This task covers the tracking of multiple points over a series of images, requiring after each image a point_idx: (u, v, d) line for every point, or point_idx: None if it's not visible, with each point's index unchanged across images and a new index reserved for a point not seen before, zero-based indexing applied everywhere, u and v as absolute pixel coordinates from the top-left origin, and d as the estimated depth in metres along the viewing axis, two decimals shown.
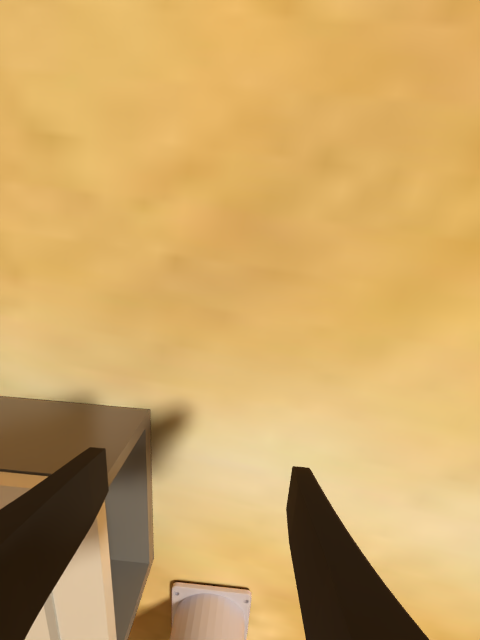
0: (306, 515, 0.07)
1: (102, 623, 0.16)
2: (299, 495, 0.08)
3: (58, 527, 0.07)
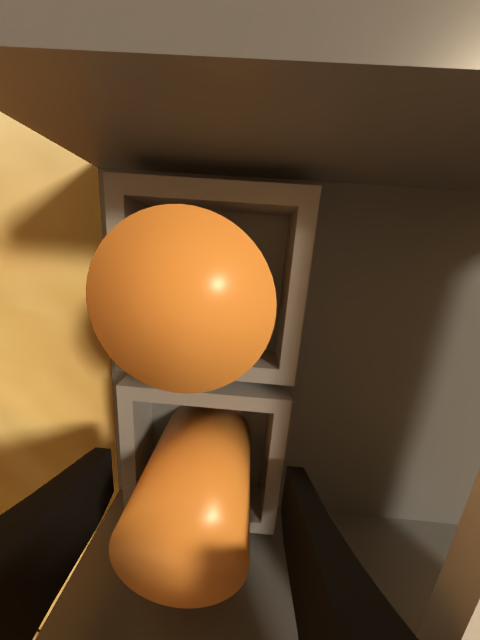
0: (299, 514, 0.07)
1: None
2: (293, 494, 0.08)
3: (64, 528, 0.07)
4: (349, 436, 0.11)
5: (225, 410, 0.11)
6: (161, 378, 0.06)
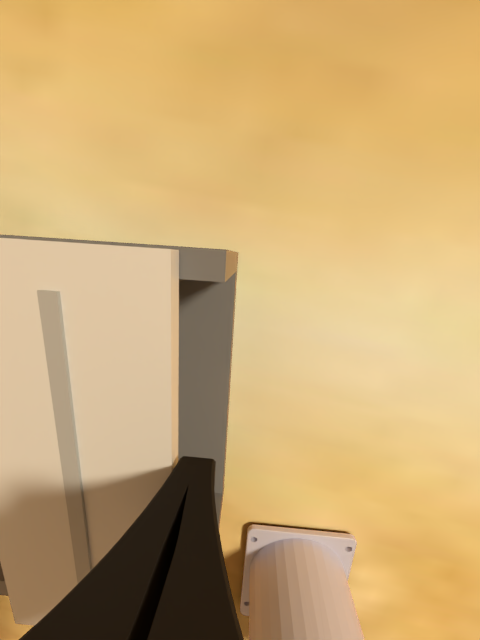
0: None
1: None
2: None
3: (177, 540, 0.07)
4: None
5: None
6: None
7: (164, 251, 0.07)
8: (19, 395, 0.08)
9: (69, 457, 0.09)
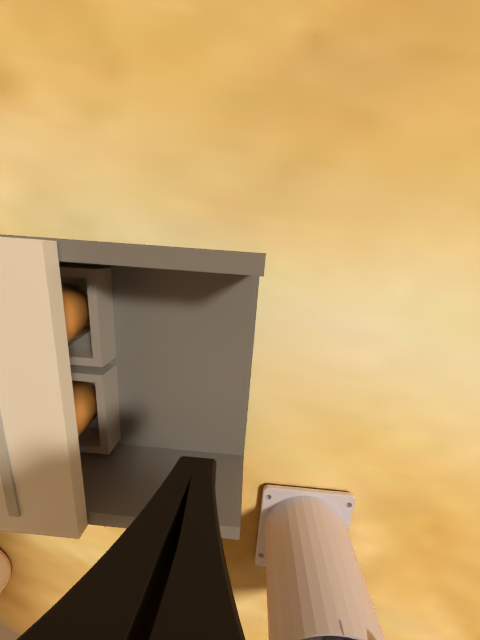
0: None
1: (62, 447, 0.13)
2: None
3: (176, 540, 0.07)
4: (159, 399, 0.19)
5: (81, 383, 0.19)
6: None
7: (38, 241, 0.10)
8: None
9: None
